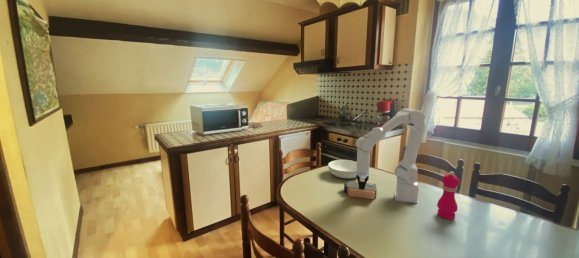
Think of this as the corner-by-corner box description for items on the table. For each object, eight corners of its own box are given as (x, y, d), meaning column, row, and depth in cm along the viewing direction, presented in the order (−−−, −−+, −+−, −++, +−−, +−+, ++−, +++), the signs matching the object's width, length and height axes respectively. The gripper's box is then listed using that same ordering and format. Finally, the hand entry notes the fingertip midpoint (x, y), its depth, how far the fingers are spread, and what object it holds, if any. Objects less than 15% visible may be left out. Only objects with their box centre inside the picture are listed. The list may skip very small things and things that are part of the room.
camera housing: (375, 192, 125) (375, 183, 124) (375, 199, 117) (376, 189, 116) (344, 188, 129) (345, 179, 129) (343, 194, 122) (343, 185, 121)
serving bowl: (327, 169, 159) (327, 159, 158) (359, 170, 156) (360, 160, 155) (328, 181, 139) (328, 170, 138) (365, 183, 136) (366, 171, 135)
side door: (373, 198, 117) (374, 191, 112) (373, 199, 117) (374, 192, 112) (348, 194, 121) (348, 187, 116) (348, 196, 120) (348, 189, 115)
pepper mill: (453, 213, 105) (459, 169, 101) (458, 221, 98) (465, 175, 94) (434, 210, 107) (439, 167, 103) (438, 218, 100) (444, 173, 97)
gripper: (354, 157, 120) (353, 183, 122) (353, 167, 106) (352, 195, 109) (369, 158, 118) (368, 184, 120) (370, 168, 104) (368, 197, 107)
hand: (361, 190), depth 114 cm, fingers closed, pressing on side door
